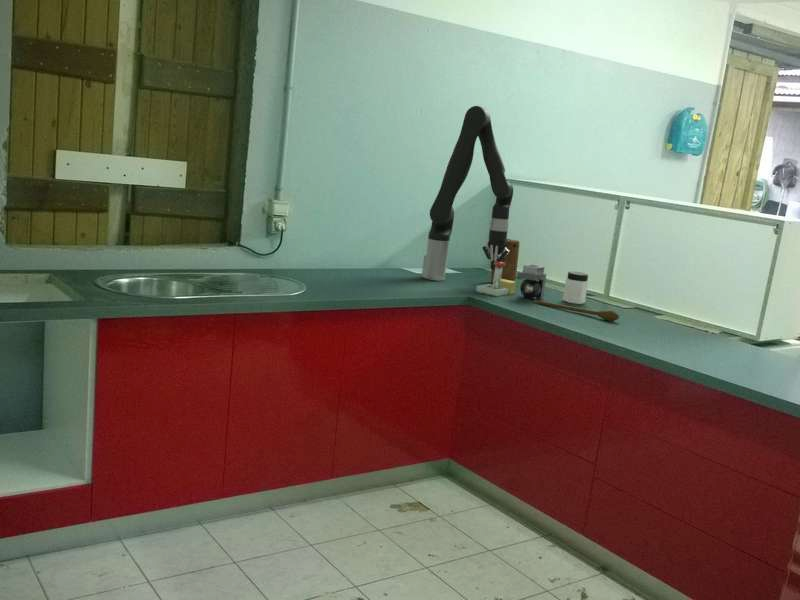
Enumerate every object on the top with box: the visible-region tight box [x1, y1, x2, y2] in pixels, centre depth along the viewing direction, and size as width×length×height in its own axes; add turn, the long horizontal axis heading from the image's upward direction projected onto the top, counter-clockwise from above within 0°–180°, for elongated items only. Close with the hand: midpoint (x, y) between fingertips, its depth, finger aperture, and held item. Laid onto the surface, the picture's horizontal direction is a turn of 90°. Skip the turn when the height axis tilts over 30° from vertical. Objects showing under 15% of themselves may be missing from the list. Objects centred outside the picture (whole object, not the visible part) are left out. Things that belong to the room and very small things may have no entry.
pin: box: [492, 261, 505, 290], centre depth 329 cm, size 4×4×12 cm
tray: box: [475, 283, 509, 297], centre depth 328 cm, size 10×10×2 cm
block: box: [490, 238, 521, 284], centre depth 351 cm, size 11×8×20 cm
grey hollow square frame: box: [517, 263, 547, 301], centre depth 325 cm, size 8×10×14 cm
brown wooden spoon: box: [533, 299, 620, 323], centre depth 307 cm, size 5×35×5 cm
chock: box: [500, 279, 517, 295], centre depth 334 cm, size 7×5×5 cm
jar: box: [562, 271, 589, 305], centre depth 329 cm, size 9×8×12 cm
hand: (493, 270), depth 337 cm, fingers closed
